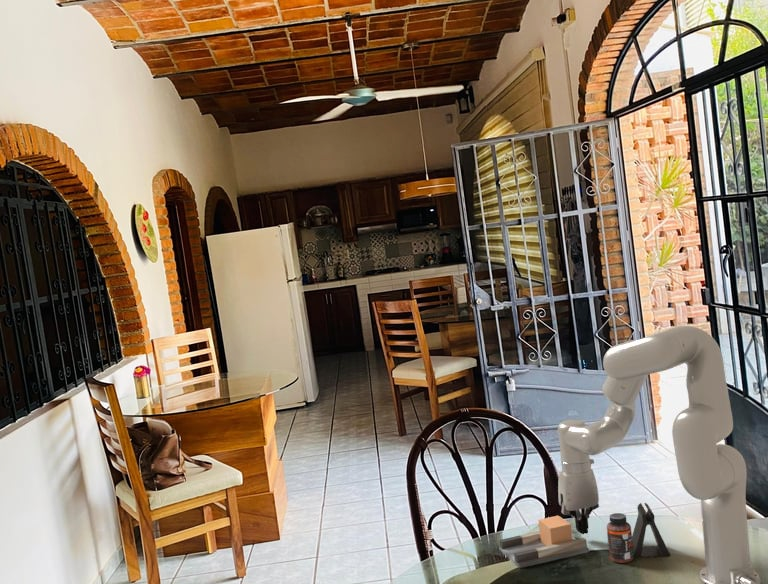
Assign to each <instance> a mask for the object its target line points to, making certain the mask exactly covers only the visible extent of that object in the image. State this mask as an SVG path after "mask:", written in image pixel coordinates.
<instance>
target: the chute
mask: <svg viewBox="0 0 768 584" xmlns="http://www.w3.org/2000/svg"><path fill="white" fill-rule="evenodd" d="M498 549H499V551H500V552H502V553H503V555H505V556H506V558H508V559H509V560H510V561H511V562H512V563H513V564H514V565H515V566H516V567H517V568H518V569H522V568H526V567H530V566H531V567H532V566H534V565H535V566H536V565H539V564H543V563H547V562H551V561H552V562H553V561H556V560H560V559H564V558H569V557H573V556H578V555H581V554H586V553H589V552H590V549H589V547H588V543H587V538H585V537H579V538H575V537H574V536H573V535H572V540H570V541H566V542H561V543H557V544H553V545H548V546H546V545H545V544H543V543H542V542H541V541H540V531H539V530H538V531H534V532H529V533H525V534H521V535H520V534H519V535H516V536H511V537H506V538H503V539H502V538H501V539H499V545H498Z"/></svg>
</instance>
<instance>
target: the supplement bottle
mask: <svg viewBox="0 0 768 584" xmlns="http://www.w3.org/2000/svg"><path fill="white" fill-rule="evenodd" d="M606 534H607V545H608V546H607V547H608V555H609V559H610V560H611V561H613V562H614V563H618V564H627V563H630V562H632V561H633V560H634V559H635V558H634V556H633V555H634V554H633V543H632V535H633V532H632V527H631V524H630V523H629V522H627V515H626V514H624V513H618V512H615V513H611V514H609V522H608V523H607V524H606Z"/></svg>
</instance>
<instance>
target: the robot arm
mask: <svg viewBox="0 0 768 584" xmlns="http://www.w3.org/2000/svg"><path fill="white" fill-rule="evenodd" d="M722 354H723V353H722V351H721V349H720V345H719V344H718V343H717V341H716V340H715V338H714V337H713V335H711V334H709V333H708V332H707V331H705V330H704V329H702V328H698V327H696V326H692V325H680V326H675V327H672V328H669V329H667V330H662V331H661V332H657V333H654V334H651V335H648V336H645V337H642V338H639V339H631V340H627V341H625V342H621V343H619V344H615V345H613V346H611V347H610V348H609V349H607V351H606V352H605V353H604V356H603V359H602V365H603V366H602V367H603V369H604V370H603V371H604V372H605V373H606V375H607V377H606V378H605V381H604V383H603V385H602V390H601V391H602V393H603V395H604V397H605V398H606V399H607V400H609V406H608V408H607V410H606V412H605V414H604V416H603V418H602V419H600V420H598V421H596V422H593V423H591V424H588V425H586V423H585V422H584V421H583V420H580V419H567V420H563V421H561V422H560V423H558V426H557V434H558V442H559V453H560V461H561V464H560V465H561V471H559V474H558V480H557V481H558V482H557V483H558V484H557V485H558V486H557V488H558V489H557V492H558V497H557V498H558V504H559V506H560V507H561V511H560V512H561V514H563V515H564V516H572V518H574V523H575V524H574V525H575V529H576V531H577V532H578V533H579V534H581V535H585V534H589V520H588V519H590V515H591V514H592V512H593V511H594V510H596V509H598V508H599V507H600V504H599V502H600V498H599V488H598V483H597V479H596V476H595V473H594V470H593V468H592V465H594V464H595V459H594V458H590V456H596V455H600V454H601V453H604V452H606V451H607V450H610V449H612V448H613V447H616V446H617V445H620V443H621V442H622V441H623V440H624V439H625V437H626V435H627V434H628V432H629V430H630V428H631V426H632V424H633V422H634V420H635V416H636V415H635V414H636V405H635V403H636V400H637V398H638V396H639V393H640V391H641V389H642V387H643V386H644V384H645V382H646V380H647V378H648V377H649V376H648V375H652V374H656V373H662V372H664V371H668V370H670V369H673V368H676V367H678V366H681V365H683V364H686V367H687V368H686V369H687V370H686V372H687V373H686V379H685V381H686V382H685V383H686V384H685V385H686V391H687V395H688V407H686V408H685V409H683V410H682V411H680V412H679V413H678V414H677V415H676V417H675V419H674V421H673V423H672V429H671V430H672V431H671V433H672V441H673V447H674V453H675V454H674V455H675V459H676V465H677V466H676V467H677V472H678V476H679V480H680V482H681V485H682V487H683V488H684V490H685V491H686V493H688V494H689V496H691V497H693V498H695V499H697V500H699V501H700V511H701V514H700V515H701V523H702V533H703V545H704V546H703V547H704V559H705V566H704V567H702V568H701V569H700V571H699V578H700V581H701V580H702V581H703V582H704V583H706V584H761V582H762V579H761V578H760V575H759V573H757V572H756V571H755V570H754V566H753V565H752V561H751V551H750V538H749V528H748V518H747V517H748V516H747V502H746V493H747V492H746V489H747V476H748V475H747V471H748V470H747V465H746V464H747V463H746V461H745V459H744V457H743V455H742V454H741V452H740V451H738V450H737V448H735V447H734V446H732V445H728V444H724V443H723V444H722V443H720V442H721V441H723V440H725V439H726V438H727V437H729V436H730V434H731V433H732V431H733V429H734V419H733V418H734V417H733V412H732V407H731V401H730V396H729V394H730V393H729V388H728V385H727V379H726V378H727V377H726V372H725V364H724V363H725V361H724V357H723V355H722ZM719 443H720V444H719ZM702 581H701V582H702ZM703 582H702V583H703ZM704 583H703V584H704Z"/></svg>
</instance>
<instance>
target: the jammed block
mask: <svg viewBox="0 0 768 584" xmlns="http://www.w3.org/2000/svg"><path fill="white" fill-rule="evenodd" d="M537 521H538V531H540V541H541V542H542V543H543V544H545V545H546V546H548V545H553V544H557V543H561V542H566V541H570V540H572V536H573V533H572V526H571V525H572V524H571V523H570V522H568V521H567V520H566V519H564V518H562V517H561V516H559V515H555V516H550V517H545V518H540V519H538V520H537Z"/></svg>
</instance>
